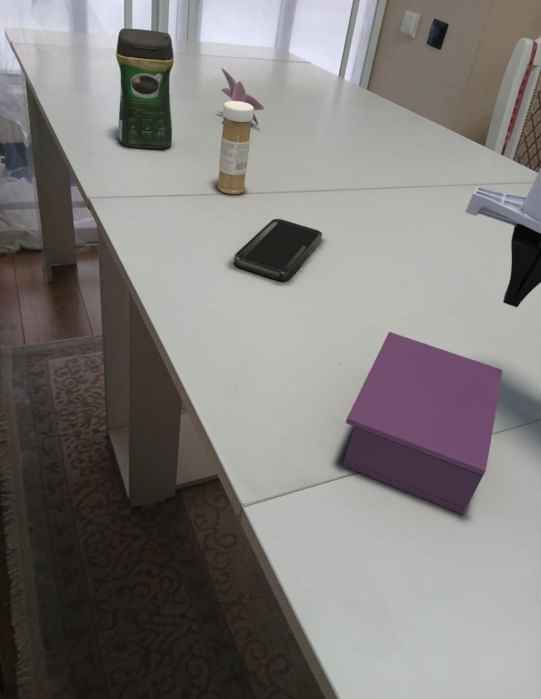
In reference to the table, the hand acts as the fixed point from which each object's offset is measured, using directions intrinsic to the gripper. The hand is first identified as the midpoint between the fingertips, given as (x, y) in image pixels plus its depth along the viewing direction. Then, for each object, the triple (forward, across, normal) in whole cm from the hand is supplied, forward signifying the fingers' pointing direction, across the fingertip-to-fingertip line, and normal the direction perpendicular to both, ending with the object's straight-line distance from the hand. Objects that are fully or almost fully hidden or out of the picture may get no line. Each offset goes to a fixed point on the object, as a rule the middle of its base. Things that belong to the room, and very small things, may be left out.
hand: (511, 300), depth 58 cm
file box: (+10, +3, +12) cm, 16 cm away
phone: (+12, +28, -14) cm, 34 cm away
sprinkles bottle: (+14, +43, -29) cm, 54 cm away
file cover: (+5, +4, +12) cm, 14 cm away
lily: (+16, +58, -63) cm, 87 cm away
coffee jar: (+15, +65, -38) cm, 77 cm away
